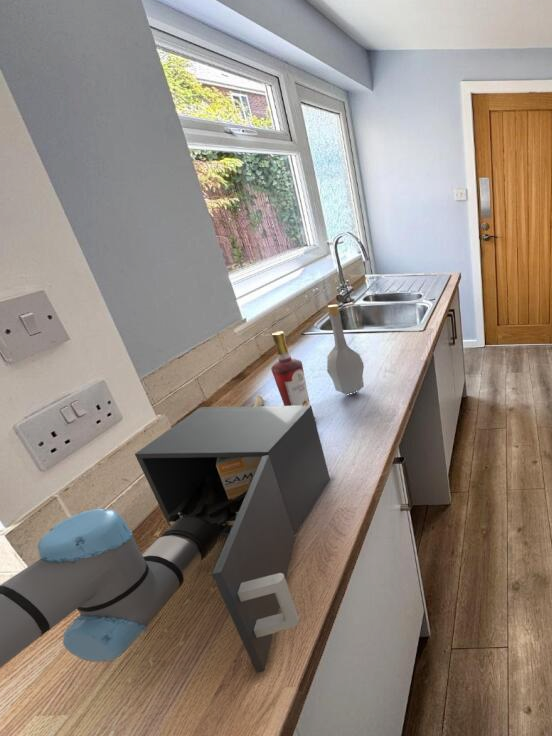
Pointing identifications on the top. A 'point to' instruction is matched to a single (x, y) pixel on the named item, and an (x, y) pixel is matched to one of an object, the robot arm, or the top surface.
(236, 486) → the supplement box
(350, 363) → the bottle
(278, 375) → the liquor
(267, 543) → the cabinet door
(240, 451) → the cabinet
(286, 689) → the top surface
